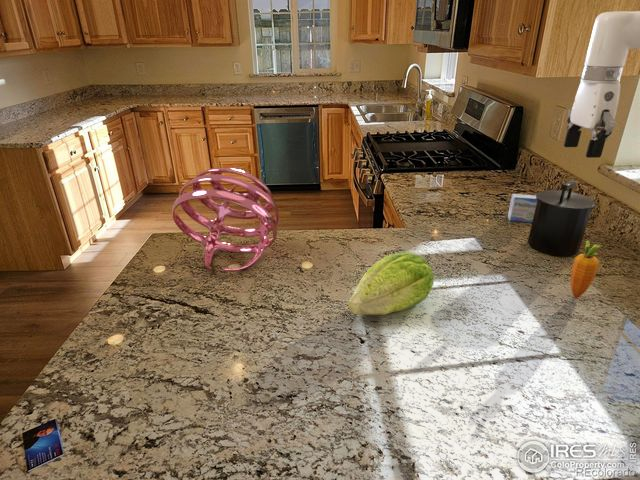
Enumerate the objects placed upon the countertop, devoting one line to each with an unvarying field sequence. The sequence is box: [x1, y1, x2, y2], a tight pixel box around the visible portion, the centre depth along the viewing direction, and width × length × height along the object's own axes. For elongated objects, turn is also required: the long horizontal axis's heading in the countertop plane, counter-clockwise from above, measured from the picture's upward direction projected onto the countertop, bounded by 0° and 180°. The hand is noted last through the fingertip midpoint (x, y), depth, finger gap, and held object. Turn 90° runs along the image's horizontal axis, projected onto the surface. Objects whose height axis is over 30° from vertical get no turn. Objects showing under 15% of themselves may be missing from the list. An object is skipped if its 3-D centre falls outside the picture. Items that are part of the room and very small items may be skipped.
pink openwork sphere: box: [171, 167, 280, 273], centre depth 114 cm, size 28×28×27 cm
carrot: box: [570, 240, 602, 299], centre depth 99 cm, size 5×5×15 cm
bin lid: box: [535, 179, 596, 210], centre depth 120 cm, size 15×15×6 cm
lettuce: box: [347, 252, 435, 316], centre depth 97 cm, size 13×22×14 cm
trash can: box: [527, 200, 592, 258], centre depth 124 cm, size 14×14×14 cm
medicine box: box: [507, 193, 537, 224], centre depth 143 cm, size 8×4×9 cm, turn 76°
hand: (581, 151), depth 101 cm, fingers open, 9 cm apart
